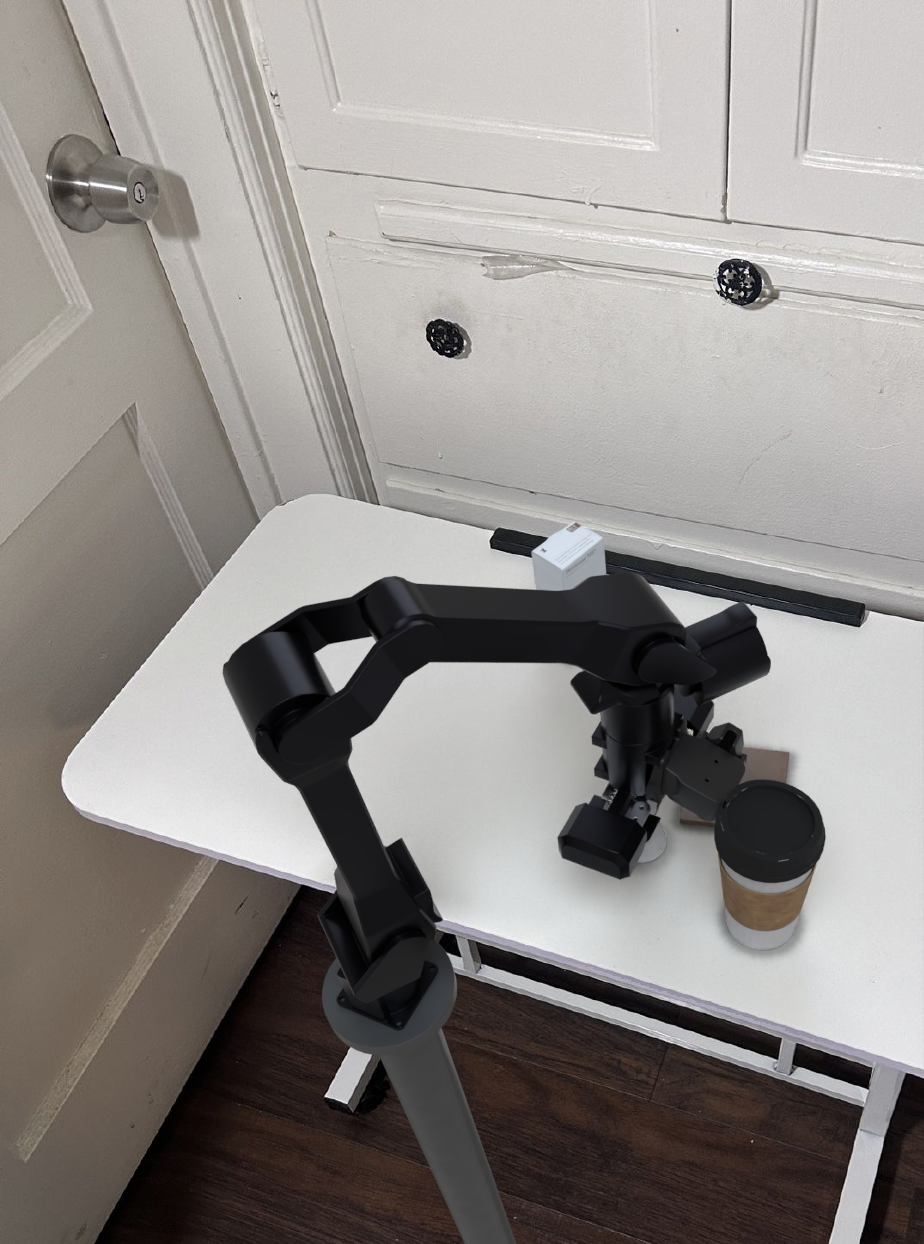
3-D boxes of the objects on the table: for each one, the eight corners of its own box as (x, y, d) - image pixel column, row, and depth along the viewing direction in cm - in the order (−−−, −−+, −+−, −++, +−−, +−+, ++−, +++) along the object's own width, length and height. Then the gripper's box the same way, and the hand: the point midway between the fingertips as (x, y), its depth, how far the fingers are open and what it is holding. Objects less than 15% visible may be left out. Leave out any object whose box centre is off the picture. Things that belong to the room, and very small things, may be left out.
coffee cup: (726, 866, 107) (732, 760, 95) (822, 892, 105) (839, 787, 93) (698, 947, 102) (700, 846, 90) (797, 976, 100) (812, 876, 88)
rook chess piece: (623, 819, 110) (620, 765, 104) (672, 829, 109) (672, 775, 103) (610, 860, 108) (606, 806, 101) (659, 870, 107) (659, 817, 100)
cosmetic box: (572, 662, 122) (562, 572, 113) (539, 641, 124) (527, 551, 115) (613, 627, 125) (607, 537, 116) (581, 608, 127) (572, 517, 118)
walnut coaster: (780, 834, 109) (780, 830, 108) (679, 823, 110) (679, 819, 109) (789, 755, 114) (789, 751, 114) (692, 745, 115) (693, 741, 115)
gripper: (687, 843, 87) (685, 951, 99) (777, 664, 97) (765, 782, 110) (547, 794, 90) (562, 904, 103) (649, 625, 101) (651, 744, 113)
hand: (640, 831), depth 107 cm, fingers closed on rook chess piece, 3 cm apart
